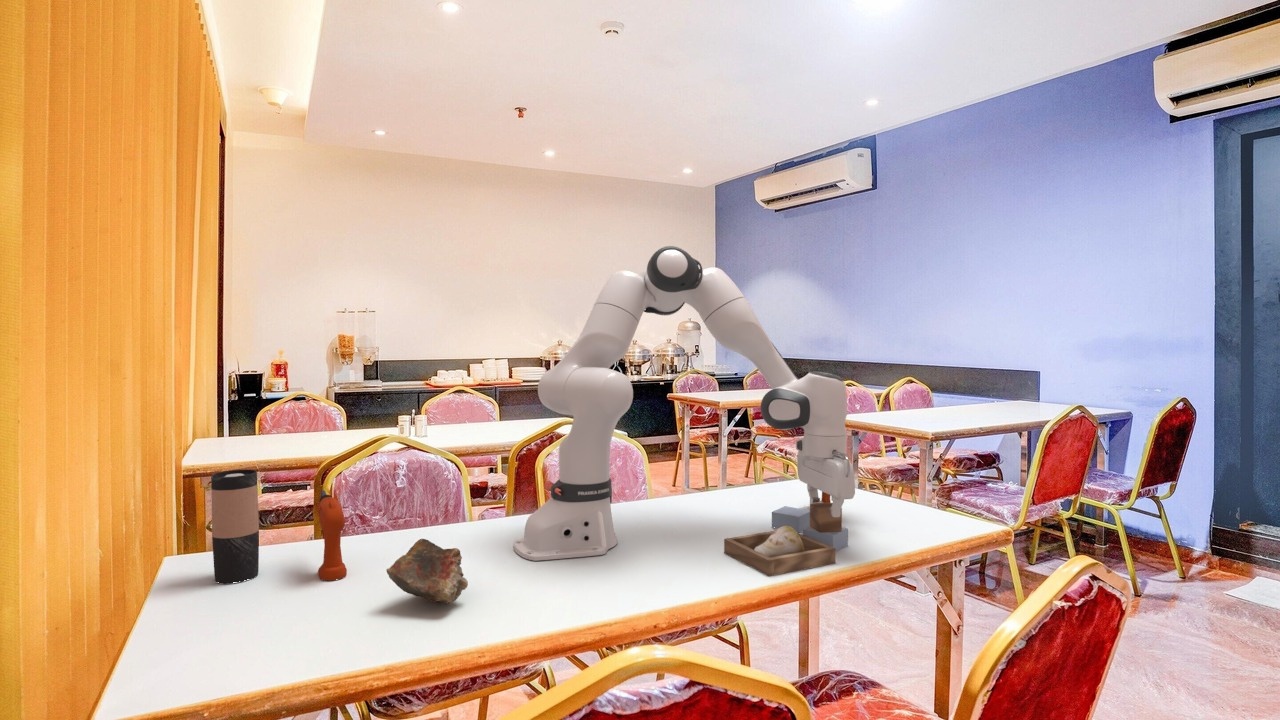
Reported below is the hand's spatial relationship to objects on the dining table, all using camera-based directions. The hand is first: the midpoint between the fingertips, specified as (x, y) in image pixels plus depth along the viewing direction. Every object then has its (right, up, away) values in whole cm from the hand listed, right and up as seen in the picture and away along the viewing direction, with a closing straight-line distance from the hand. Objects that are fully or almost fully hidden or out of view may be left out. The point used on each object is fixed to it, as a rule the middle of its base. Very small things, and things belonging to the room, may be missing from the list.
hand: (824, 510), depth 145 cm
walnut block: (0, -4, +1) cm, 4 cm away
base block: (0, -8, +1) cm, 8 cm away
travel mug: (-117, -9, -17) cm, 118 cm away
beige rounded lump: (-12, -9, -10) cm, 18 cm away
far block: (-4, -8, +15) cm, 18 cm away
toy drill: (-101, -9, -12) cm, 103 cm away
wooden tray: (-11, -8, -7) cm, 16 cm away
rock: (-75, -9, -30) cm, 81 cm away
